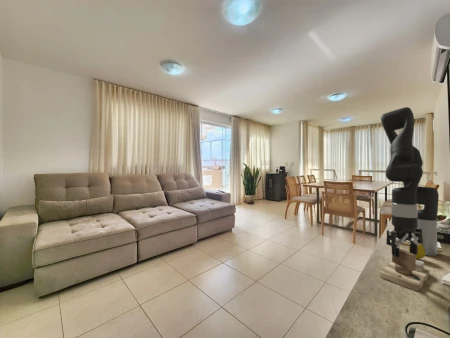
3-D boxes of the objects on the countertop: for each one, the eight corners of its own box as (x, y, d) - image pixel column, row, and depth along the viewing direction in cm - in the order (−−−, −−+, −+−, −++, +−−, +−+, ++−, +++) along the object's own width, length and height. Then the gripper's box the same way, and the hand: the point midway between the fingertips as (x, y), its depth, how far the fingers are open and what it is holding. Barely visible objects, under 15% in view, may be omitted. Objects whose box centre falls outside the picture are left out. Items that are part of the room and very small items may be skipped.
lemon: (429, 262, 86) (428, 245, 86) (414, 261, 87) (414, 244, 87) (419, 256, 92) (419, 240, 91) (405, 256, 93) (405, 239, 93)
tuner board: (394, 263, 86) (394, 253, 86) (429, 274, 77) (429, 263, 77) (379, 276, 76) (379, 265, 76) (418, 291, 67) (418, 278, 67)
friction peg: (389, 268, 78) (388, 247, 78) (399, 266, 79) (399, 246, 79) (412, 280, 70) (412, 257, 70) (423, 278, 71) (423, 256, 71)
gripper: (408, 211, 80) (408, 249, 80) (379, 213, 77) (380, 253, 78) (430, 215, 72) (430, 257, 73) (399, 218, 70) (400, 262, 70)
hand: (404, 255), depth 75 cm, fingers open, 8 cm apart
